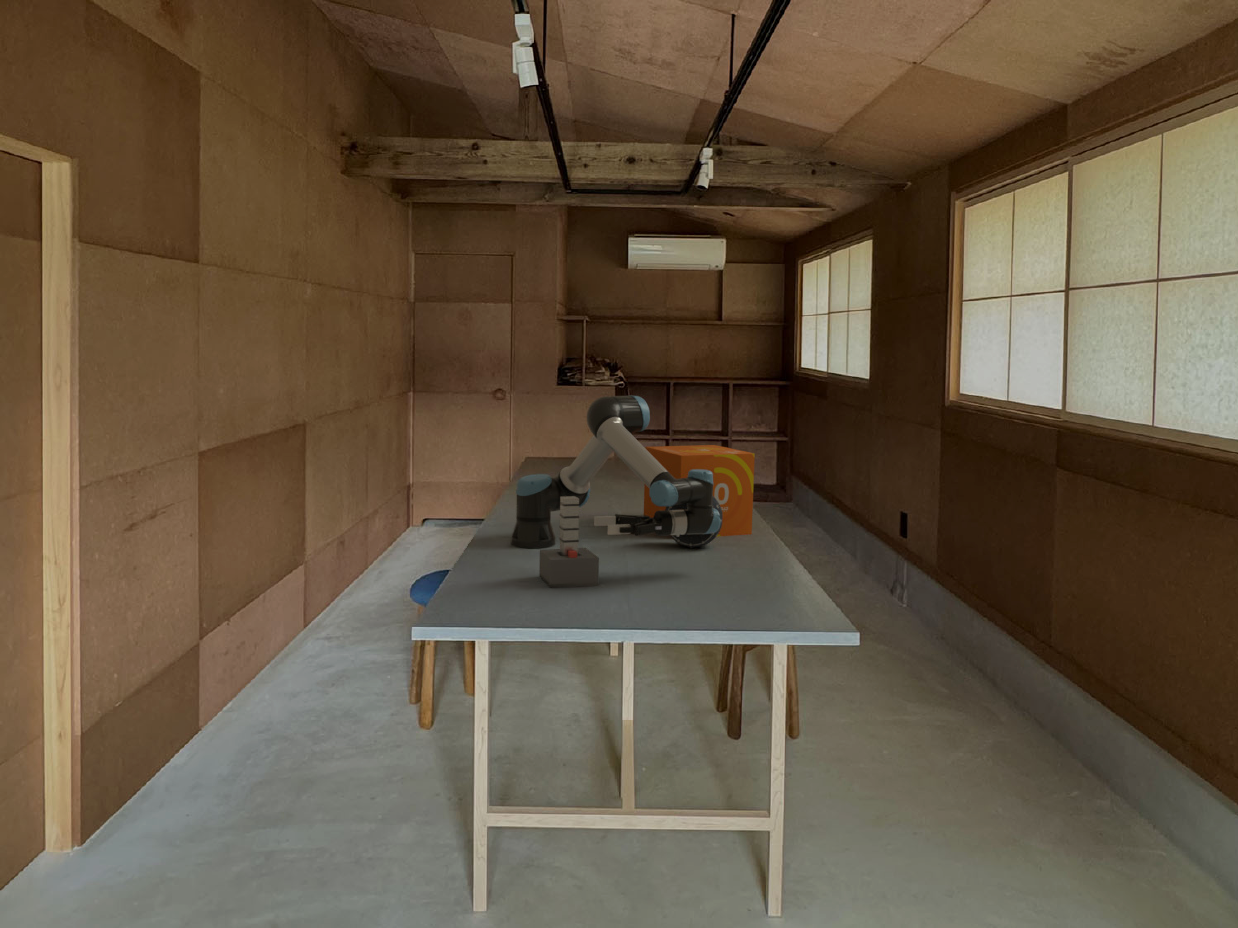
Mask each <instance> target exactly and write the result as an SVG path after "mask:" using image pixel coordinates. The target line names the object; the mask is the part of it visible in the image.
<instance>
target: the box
mask: <svg viewBox="0 0 1238 928" xmlns="http://www.w3.org/2000/svg"><path fill="white" fill-rule="evenodd" d="M644 448H645V449H646V450H647V451H648V452H649V453H650V454H651V455H652V456H653V457H654V458H655V459H656V460H657V461H658V462H659V463H660V464H661V465H662V466H663V467H664V468H665V469H666V470H667V471H668V472H669V473H670V474H671V475H672V476H673V477H674V478H675V479H681V478H688V477H687V476H688V472H689V471H690V470H693V469H703V470H709V471H711V472H712V473H713V484H714V485H713V496H714V497H715V498H716V500H717V501H718V503H719V505H720V507H721V509H722V513H723V517H722V527H721V529H720V532H719V533H718V535H717V536H716V537H717V538H718V537H731V536H744V535H745V536H746V535H753V533H752V531H753V513H754V512H753V509H754V483H755V481H754V480H755V459H756V457H755V455H756V453H754V452H749V451H744V450H741V449H740V450H739V449H735V448H730V447H726V446H721V445H717V444H702V445H697V444H696V445H666V446H665V445H663V446H657V445H656V446H645V447H644ZM643 491H644V493H643V515H646V516H650V518H653V517H654V514H655V512H656V511H663V510H665V509H666V506H657V505H655V504H654V503H653V502H652V501H651V497H650V495H649V491H650V489H649V488H648V487H647V486H646V485H645V484H644V489H643ZM716 537H715V538H716Z"/></svg>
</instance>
